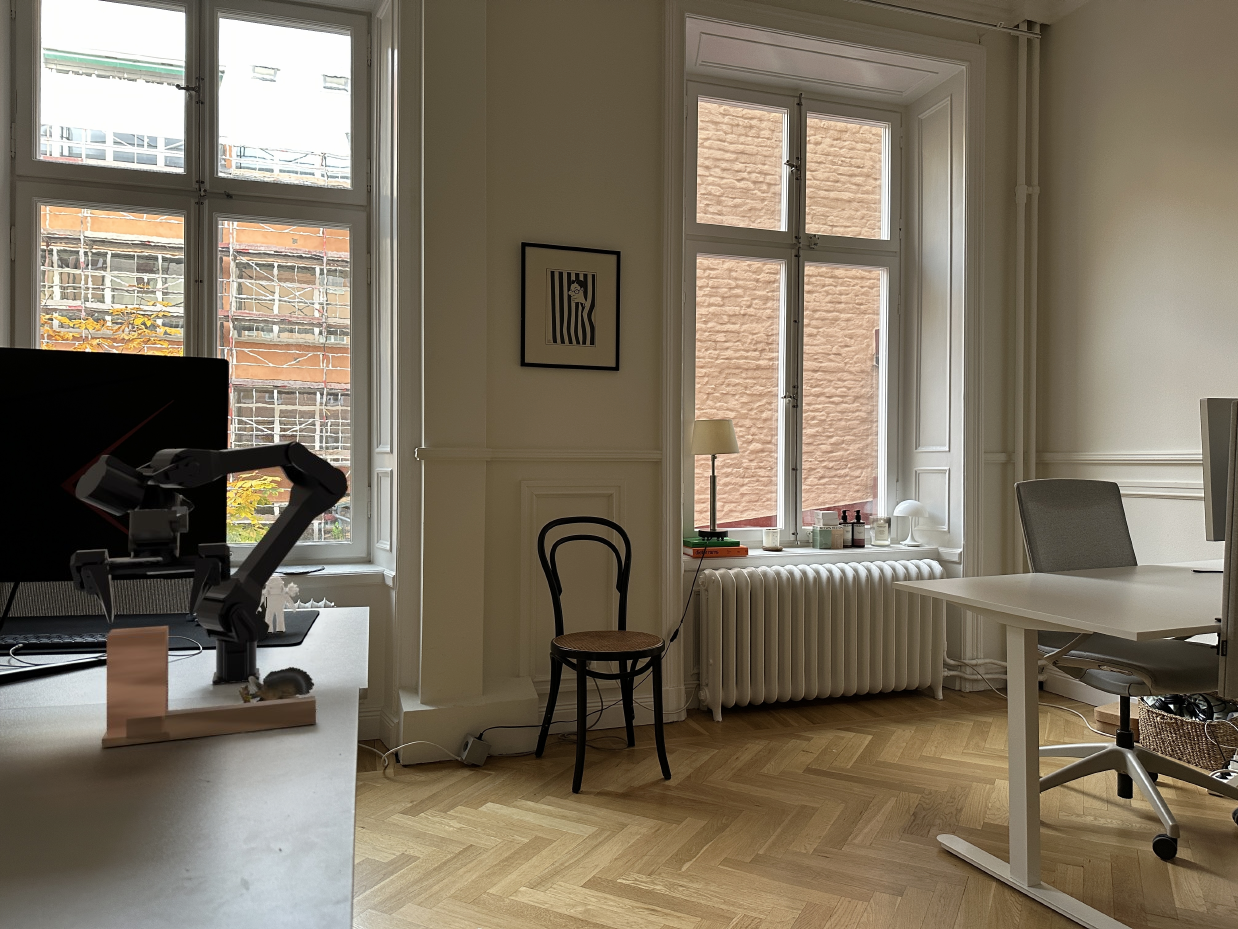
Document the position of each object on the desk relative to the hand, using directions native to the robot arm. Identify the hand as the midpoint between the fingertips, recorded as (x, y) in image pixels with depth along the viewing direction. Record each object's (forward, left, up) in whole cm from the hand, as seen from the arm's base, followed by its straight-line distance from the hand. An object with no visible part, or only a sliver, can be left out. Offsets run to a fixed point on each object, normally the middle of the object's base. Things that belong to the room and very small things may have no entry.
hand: (151, 618), depth 109 cm
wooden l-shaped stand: (+5, +8, -13) cm, 16 cm away
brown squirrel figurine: (+4, +15, -14) cm, 21 cm away
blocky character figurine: (-58, +16, -13) cm, 61 cm away
